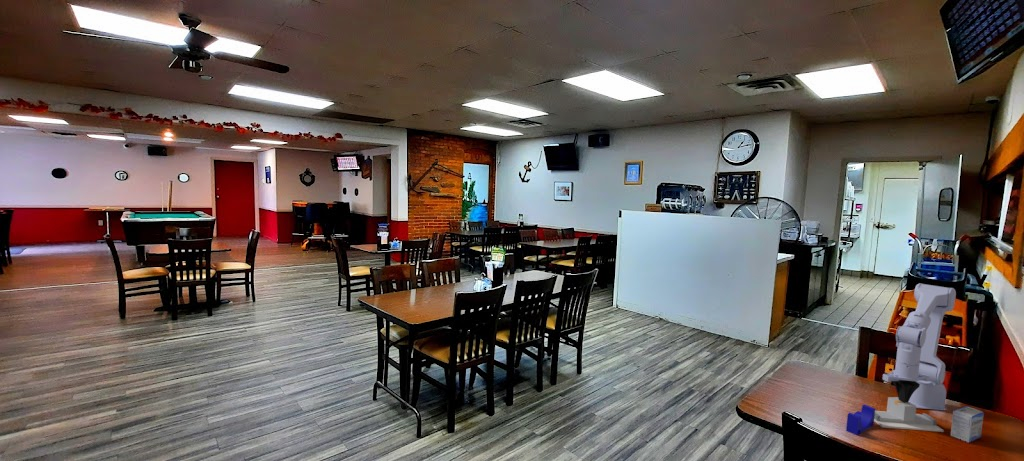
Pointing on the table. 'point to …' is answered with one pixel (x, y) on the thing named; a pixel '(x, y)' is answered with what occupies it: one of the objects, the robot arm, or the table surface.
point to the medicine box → (967, 424)
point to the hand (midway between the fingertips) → (903, 401)
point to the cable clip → (860, 420)
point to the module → (901, 409)
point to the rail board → (906, 422)
